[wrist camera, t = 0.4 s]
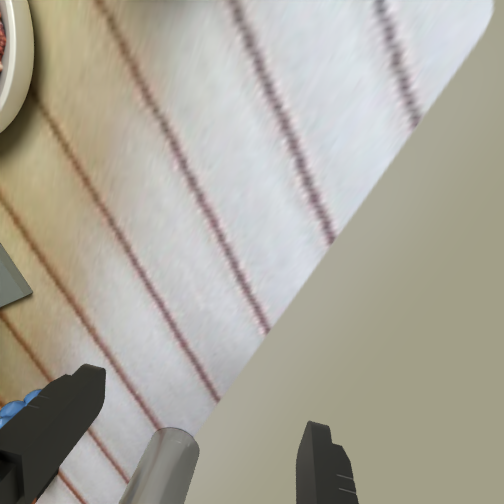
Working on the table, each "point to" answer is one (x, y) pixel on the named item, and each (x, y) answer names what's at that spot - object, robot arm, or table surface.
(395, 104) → the table surface
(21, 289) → the plant stand
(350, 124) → the table surface
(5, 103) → the bowl
